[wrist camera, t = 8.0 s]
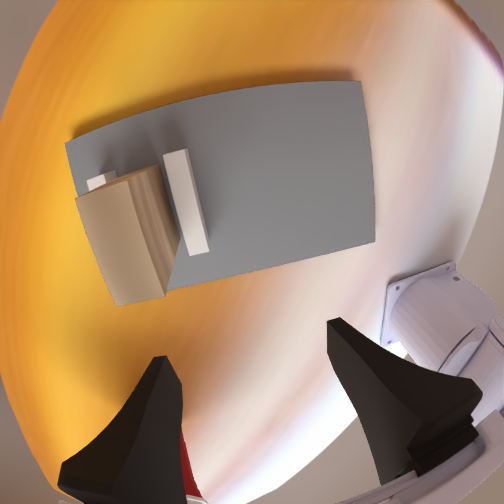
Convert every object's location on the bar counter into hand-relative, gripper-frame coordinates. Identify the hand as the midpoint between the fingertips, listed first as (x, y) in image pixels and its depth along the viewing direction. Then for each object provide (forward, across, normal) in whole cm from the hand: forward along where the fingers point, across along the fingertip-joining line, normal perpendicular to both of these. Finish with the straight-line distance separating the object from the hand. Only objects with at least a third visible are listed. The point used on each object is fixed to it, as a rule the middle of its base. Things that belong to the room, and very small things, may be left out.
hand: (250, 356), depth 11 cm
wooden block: (+8, +4, -6) cm, 11 cm away
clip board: (+9, -1, -6) cm, 11 cm away
